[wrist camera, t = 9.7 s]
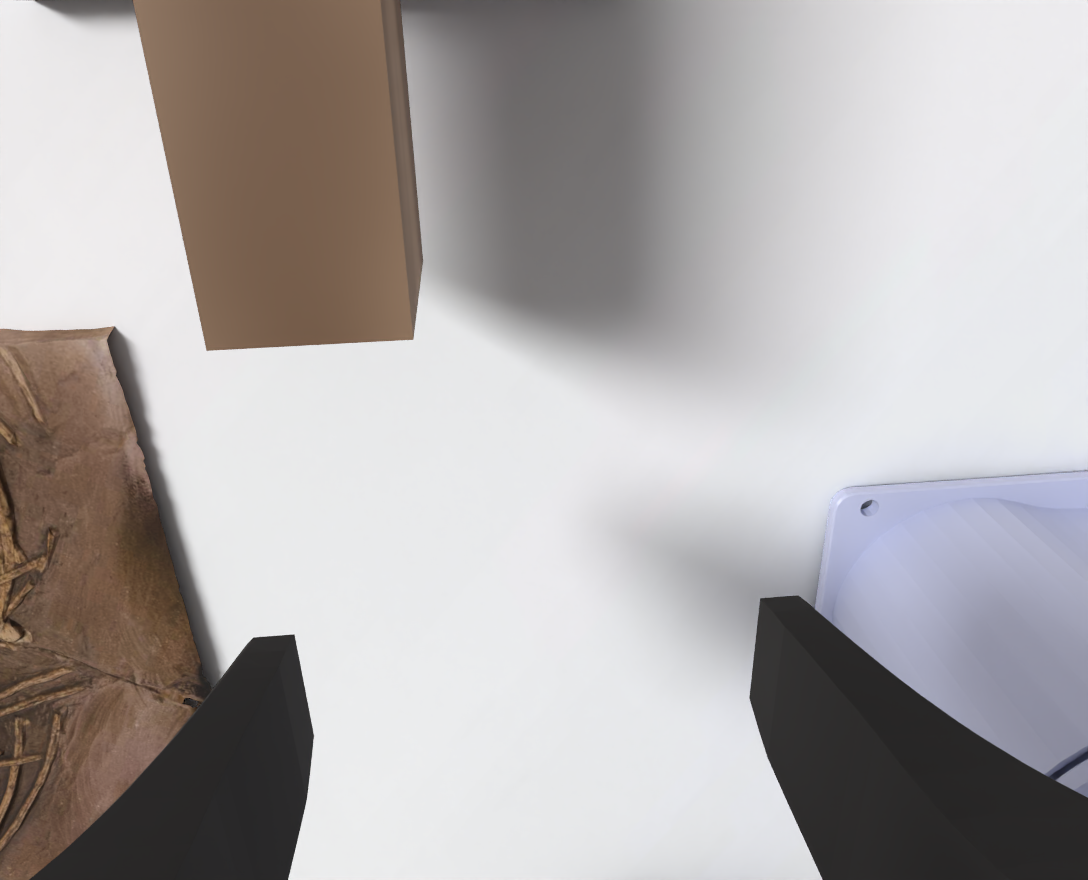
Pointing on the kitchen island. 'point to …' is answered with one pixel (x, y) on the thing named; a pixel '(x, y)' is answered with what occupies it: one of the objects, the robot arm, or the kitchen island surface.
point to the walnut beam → (289, 166)
